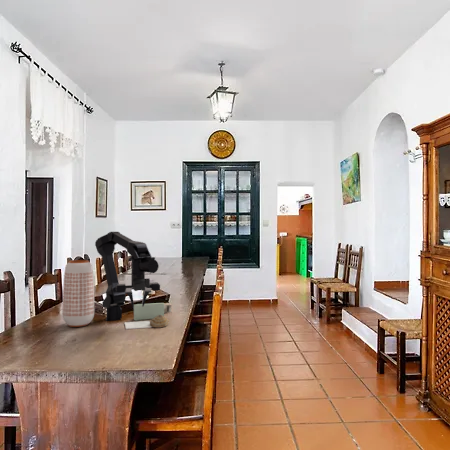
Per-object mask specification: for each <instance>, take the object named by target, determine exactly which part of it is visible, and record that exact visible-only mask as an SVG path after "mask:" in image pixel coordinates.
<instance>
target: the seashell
mask: <svg viewBox="0 0 450 450" xmlns="http://www.w3.org/2000/svg"><path fill="white" fill-rule="evenodd" d="M169 322H170V319H168V318H167V317H166V316H165V315H164V316H162V315H158V316H156V317H155V318H154V319H150V325H151V326H152V327H151V328H163V327H166V326H168V324H169Z"/></svg>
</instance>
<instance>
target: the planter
mask: <svg viewBox="0 0 450 450" xmlns="http://www.w3.org/2000/svg"><path fill="white" fill-rule="evenodd" d="M63 276H64V277H63V289H62V291H63V292H62V311H61V314H62V319H63V321H64V323H65V324H67V326H68V327H71V328H79V327H81V328H82V327H86V326H88V325H89V324H90V323H91V322H92V321H93V319H94V317H95V286H94V285H95V284H94V281H95V280H94V271H93V264H92V263H91V262H90V260H88V259H75V260H74V259H73V260H69V261H68V262H67V263H66V265H65V267H64V275H63Z"/></svg>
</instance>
